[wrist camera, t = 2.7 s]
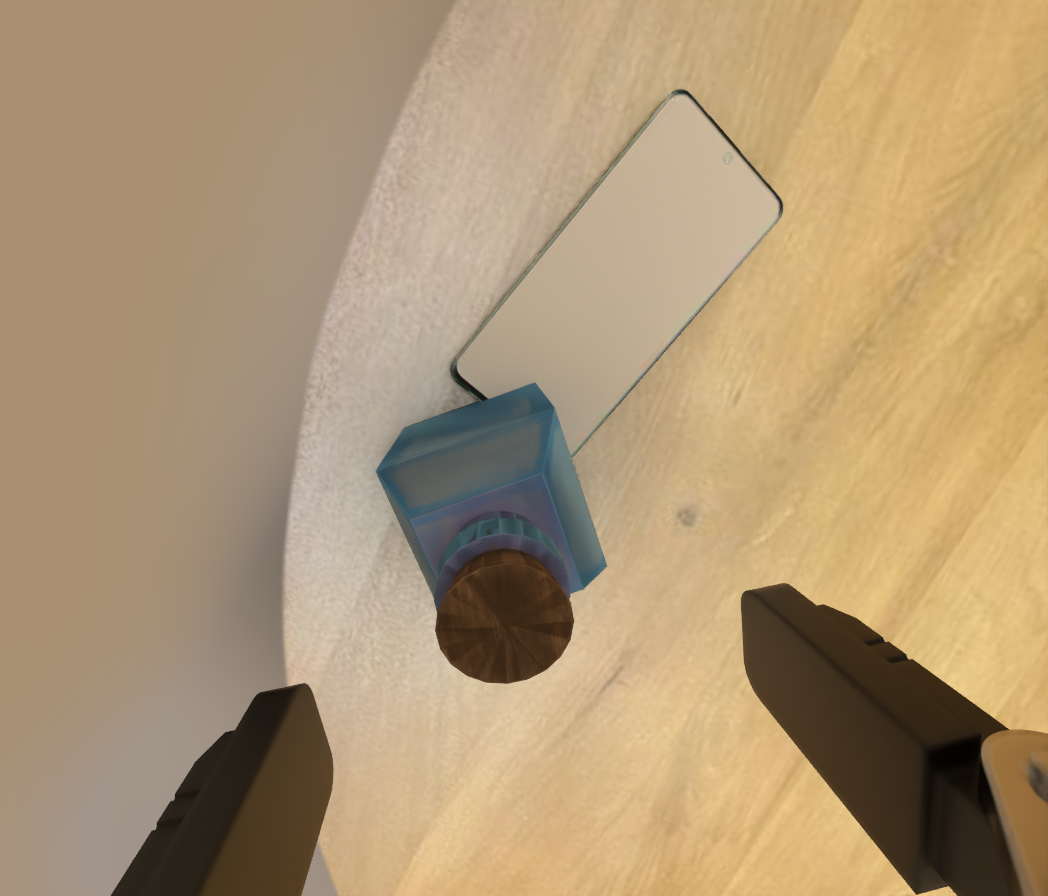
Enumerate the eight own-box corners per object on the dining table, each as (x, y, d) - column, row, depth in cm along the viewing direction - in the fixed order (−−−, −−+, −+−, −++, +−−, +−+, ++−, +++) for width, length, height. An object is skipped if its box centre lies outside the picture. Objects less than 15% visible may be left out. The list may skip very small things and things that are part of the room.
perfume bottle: (575, 502, 23) (666, 685, 12) (454, 544, 23) (429, 767, 12) (534, 381, 22) (595, 458, 10) (404, 427, 22) (317, 556, 10)
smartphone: (444, 372, 21) (680, 80, 19) (444, 370, 21) (674, 87, 20) (563, 469, 22) (790, 208, 21) (561, 466, 23) (782, 211, 21)
